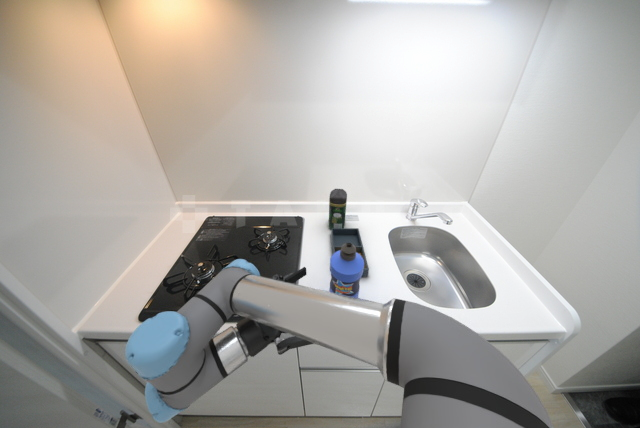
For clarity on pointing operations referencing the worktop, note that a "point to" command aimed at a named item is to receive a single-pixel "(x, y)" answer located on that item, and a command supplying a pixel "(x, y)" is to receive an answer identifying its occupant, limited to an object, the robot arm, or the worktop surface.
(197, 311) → the robot arm
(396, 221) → the worktop surface
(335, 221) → the coffee jar
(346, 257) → the water bottle
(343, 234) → the dark grey shallow tray
